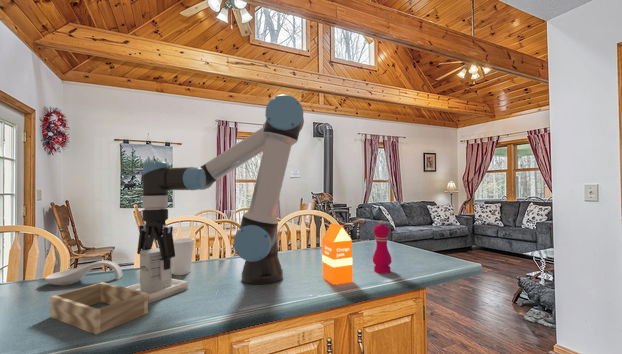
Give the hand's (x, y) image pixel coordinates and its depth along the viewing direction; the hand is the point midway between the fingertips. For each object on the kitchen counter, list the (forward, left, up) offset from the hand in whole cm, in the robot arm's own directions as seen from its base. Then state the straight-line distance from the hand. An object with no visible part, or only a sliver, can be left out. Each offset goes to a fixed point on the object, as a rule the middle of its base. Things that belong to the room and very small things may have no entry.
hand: (155, 277), depth 98 cm
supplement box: (0, 0, -4) cm, 4 cm away
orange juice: (-49, -37, -5) cm, 62 cm away
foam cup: (+11, -19, -5) cm, 23 cm away
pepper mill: (-61, -54, -5) cm, 82 cm away
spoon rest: (+36, +4, -5) cm, 36 cm away
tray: (0, 0, -5) cm, 5 cm away
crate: (-2, +18, -5) cm, 19 cm away
